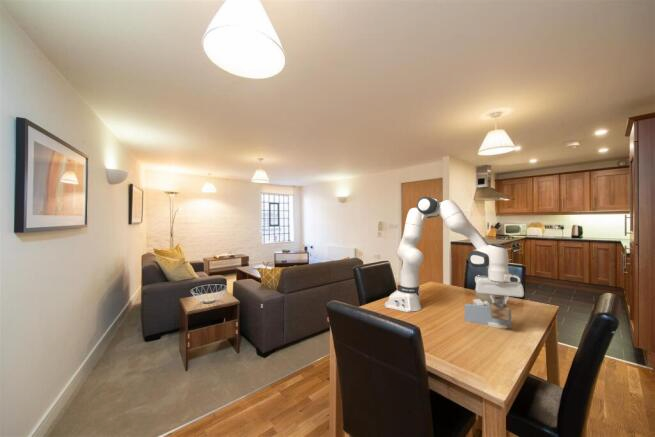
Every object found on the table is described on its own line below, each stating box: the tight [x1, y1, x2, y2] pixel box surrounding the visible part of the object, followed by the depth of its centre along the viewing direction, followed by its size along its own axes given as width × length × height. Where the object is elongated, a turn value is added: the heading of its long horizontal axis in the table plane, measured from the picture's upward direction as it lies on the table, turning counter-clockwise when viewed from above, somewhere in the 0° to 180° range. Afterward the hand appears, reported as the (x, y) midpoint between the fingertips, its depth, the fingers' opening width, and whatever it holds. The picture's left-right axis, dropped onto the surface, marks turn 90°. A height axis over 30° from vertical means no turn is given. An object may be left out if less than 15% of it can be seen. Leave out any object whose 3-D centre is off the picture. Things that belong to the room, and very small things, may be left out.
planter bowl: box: [474, 287, 506, 303], centre depth 161 cm, size 16×16×11 cm
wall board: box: [464, 303, 512, 329], centre depth 136 cm, size 21×4×9 cm, turn 62°
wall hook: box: [472, 298, 490, 307], centre depth 148 cm, size 8×10×10 cm
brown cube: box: [490, 297, 510, 320], centre depth 129 cm, size 7×7×9 cm
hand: (499, 303), depth 129 cm, fingers closed on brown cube, 3 cm apart
